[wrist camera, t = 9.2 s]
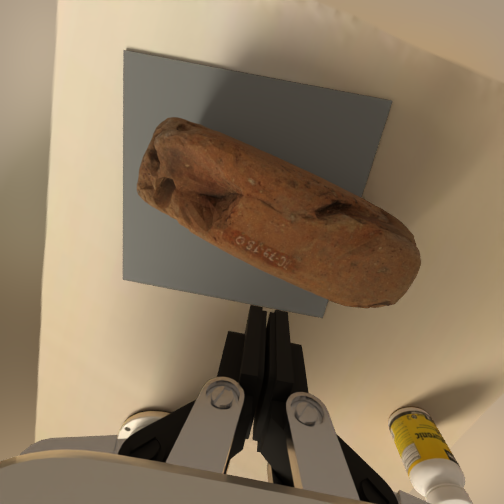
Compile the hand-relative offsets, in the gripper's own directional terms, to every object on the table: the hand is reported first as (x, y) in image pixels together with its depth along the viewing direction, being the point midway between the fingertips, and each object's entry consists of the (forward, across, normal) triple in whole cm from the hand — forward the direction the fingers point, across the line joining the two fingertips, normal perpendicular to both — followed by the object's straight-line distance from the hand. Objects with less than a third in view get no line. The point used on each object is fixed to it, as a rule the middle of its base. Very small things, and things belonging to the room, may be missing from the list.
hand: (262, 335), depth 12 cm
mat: (+17, +4, -2) cm, 18 cm away
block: (+11, -10, 0) cm, 15 cm away
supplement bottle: (+17, -23, +22) cm, 36 cm away
